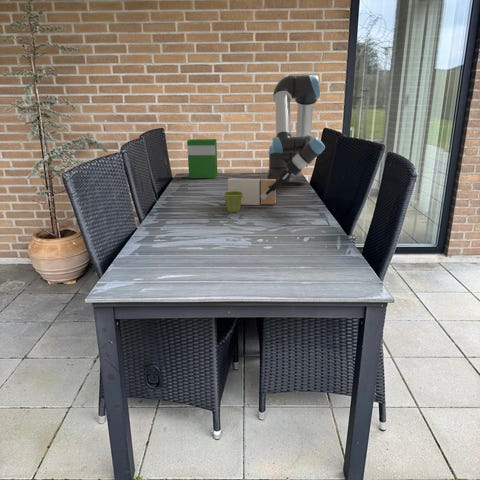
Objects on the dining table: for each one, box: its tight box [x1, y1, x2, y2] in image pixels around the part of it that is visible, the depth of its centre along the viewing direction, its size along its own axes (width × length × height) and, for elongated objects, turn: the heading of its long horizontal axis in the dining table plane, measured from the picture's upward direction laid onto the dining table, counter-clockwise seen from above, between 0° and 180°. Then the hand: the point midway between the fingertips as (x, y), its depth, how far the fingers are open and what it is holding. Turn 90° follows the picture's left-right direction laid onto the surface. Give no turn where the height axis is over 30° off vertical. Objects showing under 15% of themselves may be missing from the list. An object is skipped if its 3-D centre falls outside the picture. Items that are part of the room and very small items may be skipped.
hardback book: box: [186, 138, 219, 179], centre depth 288 cm, size 18×7×24 cm, turn 86°
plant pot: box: [222, 191, 243, 213], centre depth 212 cm, size 9×9×9 cm
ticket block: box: [227, 177, 262, 206], centre depth 224 cm, size 3×16×12 cm, turn 80°
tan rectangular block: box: [260, 178, 277, 205], centre depth 222 cm, size 3×7×12 cm, turn 80°
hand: (262, 196), depth 223 cm, fingers closed on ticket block, 3 cm apart
